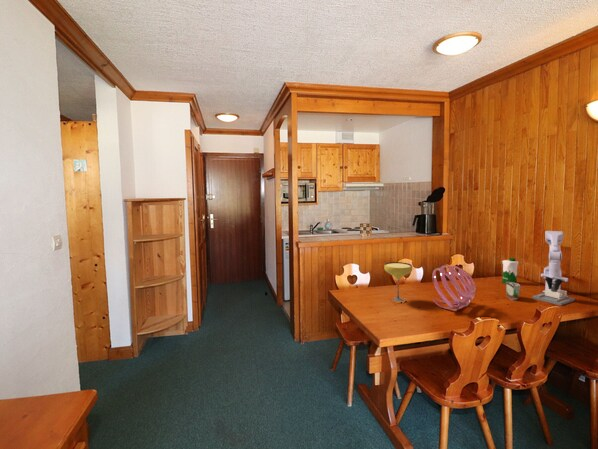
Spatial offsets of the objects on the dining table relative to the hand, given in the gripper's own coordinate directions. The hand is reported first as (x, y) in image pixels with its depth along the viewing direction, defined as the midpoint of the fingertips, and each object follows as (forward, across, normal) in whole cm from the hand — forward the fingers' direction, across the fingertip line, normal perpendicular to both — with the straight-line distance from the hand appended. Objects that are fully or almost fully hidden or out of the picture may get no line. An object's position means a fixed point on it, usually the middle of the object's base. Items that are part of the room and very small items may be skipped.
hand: (553, 289), depth 207 cm
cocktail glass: (+7, -51, -89) cm, 103 cm away
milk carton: (+7, -36, +15) cm, 40 cm away
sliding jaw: (+5, 0, 0) cm, 5 cm away
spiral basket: (+7, -24, -69) cm, 73 cm away
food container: (+7, -14, -19) cm, 24 cm away
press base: (+7, 0, 0) cm, 7 cm away
